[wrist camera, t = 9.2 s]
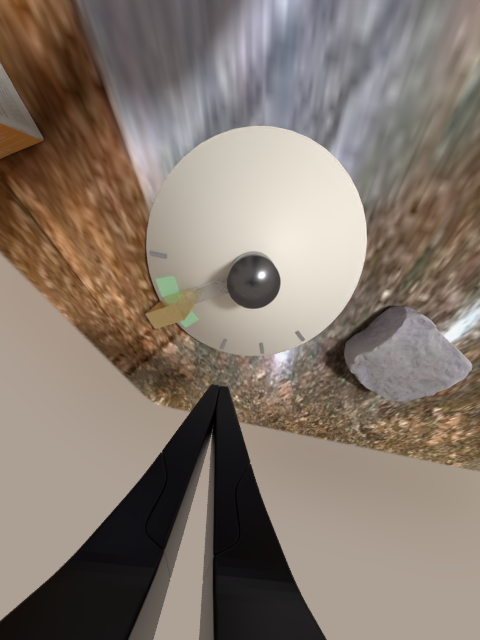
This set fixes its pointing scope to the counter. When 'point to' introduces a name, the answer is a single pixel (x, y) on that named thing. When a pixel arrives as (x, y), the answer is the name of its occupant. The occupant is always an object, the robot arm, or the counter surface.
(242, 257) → the tuner lever
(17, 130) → the small box
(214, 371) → the counter surface
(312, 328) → the dial plate
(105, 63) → the counter surface
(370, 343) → the stone block
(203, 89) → the counter surface
